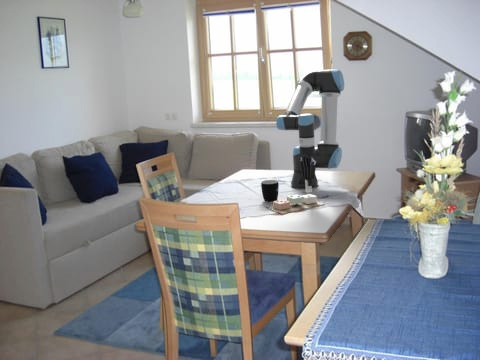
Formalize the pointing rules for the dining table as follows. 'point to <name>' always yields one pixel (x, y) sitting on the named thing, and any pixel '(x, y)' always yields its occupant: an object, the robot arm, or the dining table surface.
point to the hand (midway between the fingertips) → (308, 191)
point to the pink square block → (281, 204)
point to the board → (297, 207)
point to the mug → (270, 190)
